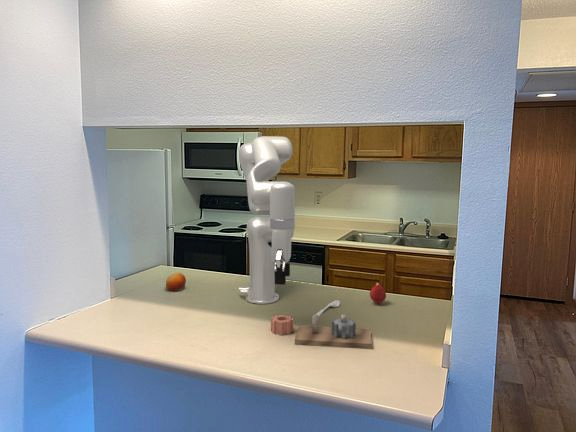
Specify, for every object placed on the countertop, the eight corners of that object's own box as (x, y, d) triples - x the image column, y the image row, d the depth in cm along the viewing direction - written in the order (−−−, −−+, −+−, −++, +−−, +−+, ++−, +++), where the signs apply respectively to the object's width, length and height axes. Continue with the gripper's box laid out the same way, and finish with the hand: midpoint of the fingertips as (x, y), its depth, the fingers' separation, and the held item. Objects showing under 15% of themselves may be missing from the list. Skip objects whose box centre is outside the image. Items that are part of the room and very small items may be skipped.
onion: (384, 301, 168) (385, 281, 167) (386, 307, 163) (387, 285, 162) (368, 301, 169) (369, 280, 168) (370, 306, 163) (370, 285, 162)
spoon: (343, 305, 166) (343, 301, 166) (314, 322, 149) (314, 317, 149) (333, 303, 168) (333, 299, 168) (303, 319, 151) (303, 315, 151)
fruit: (188, 289, 179) (177, 272, 178) (171, 299, 180) (160, 282, 179) (192, 283, 187) (182, 267, 186) (176, 292, 188) (166, 276, 187)
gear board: (294, 344, 131) (294, 319, 130) (298, 329, 141) (298, 306, 140) (371, 348, 128) (372, 323, 127) (370, 333, 138) (370, 310, 137)
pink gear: (269, 334, 138) (269, 322, 137) (273, 326, 144) (273, 314, 144) (291, 335, 137) (291, 323, 136) (294, 327, 143) (294, 315, 143)
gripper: (274, 220, 145) (274, 272, 147) (264, 228, 128) (265, 287, 130) (297, 220, 144) (297, 273, 146) (291, 228, 127) (291, 288, 129)
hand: (282, 279), depth 138 cm, fingers open, 9 cm apart
